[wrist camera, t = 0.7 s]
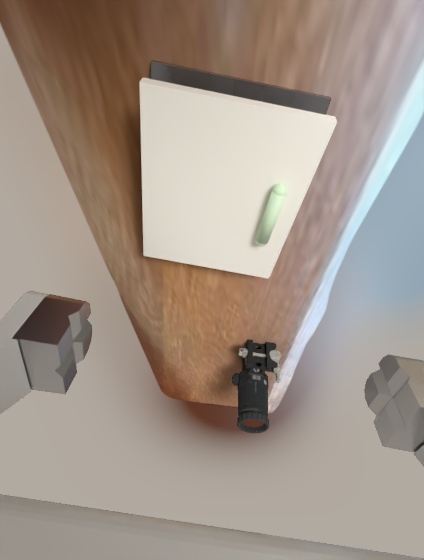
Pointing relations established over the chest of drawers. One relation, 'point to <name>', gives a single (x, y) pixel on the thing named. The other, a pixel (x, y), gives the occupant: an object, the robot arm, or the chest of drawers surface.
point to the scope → (255, 385)
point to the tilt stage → (223, 175)
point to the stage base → (239, 87)
